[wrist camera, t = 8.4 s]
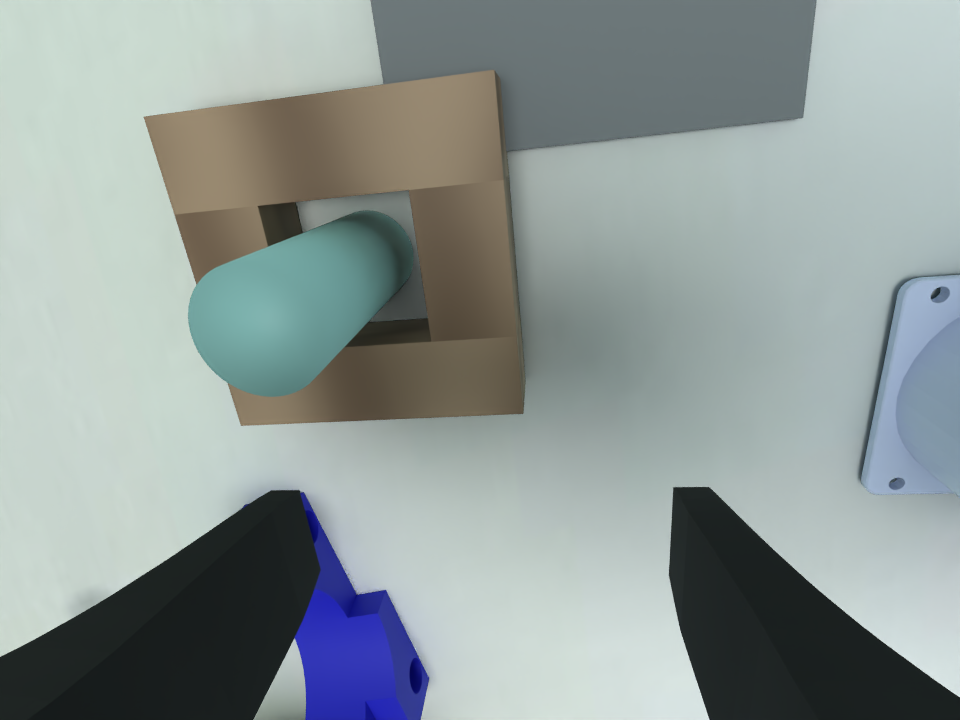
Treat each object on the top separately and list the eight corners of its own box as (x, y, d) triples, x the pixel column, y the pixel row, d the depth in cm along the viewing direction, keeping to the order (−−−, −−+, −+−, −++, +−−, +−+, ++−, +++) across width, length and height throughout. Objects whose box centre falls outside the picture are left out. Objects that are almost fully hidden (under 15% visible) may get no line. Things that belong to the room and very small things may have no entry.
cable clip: (429, 675, 27) (400, 814, 21) (350, 684, 28) (302, 820, 22) (336, 482, 23) (270, 592, 17) (246, 502, 24) (157, 612, 18)
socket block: (500, 79, 16) (494, 69, 14) (525, 381, 20) (523, 413, 17) (196, 119, 17) (143, 116, 15) (274, 394, 21) (240, 425, 19)
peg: (408, 208, 18) (313, 259, 10) (417, 295, 19) (337, 396, 11) (322, 212, 18) (171, 263, 11) (336, 297, 19) (208, 396, 12)
